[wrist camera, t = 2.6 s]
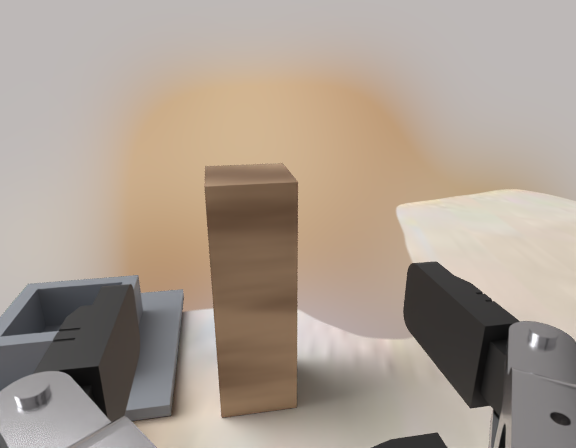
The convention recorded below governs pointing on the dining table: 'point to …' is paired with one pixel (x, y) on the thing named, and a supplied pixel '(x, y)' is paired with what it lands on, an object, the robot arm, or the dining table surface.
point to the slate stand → (72, 294)
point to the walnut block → (254, 284)
